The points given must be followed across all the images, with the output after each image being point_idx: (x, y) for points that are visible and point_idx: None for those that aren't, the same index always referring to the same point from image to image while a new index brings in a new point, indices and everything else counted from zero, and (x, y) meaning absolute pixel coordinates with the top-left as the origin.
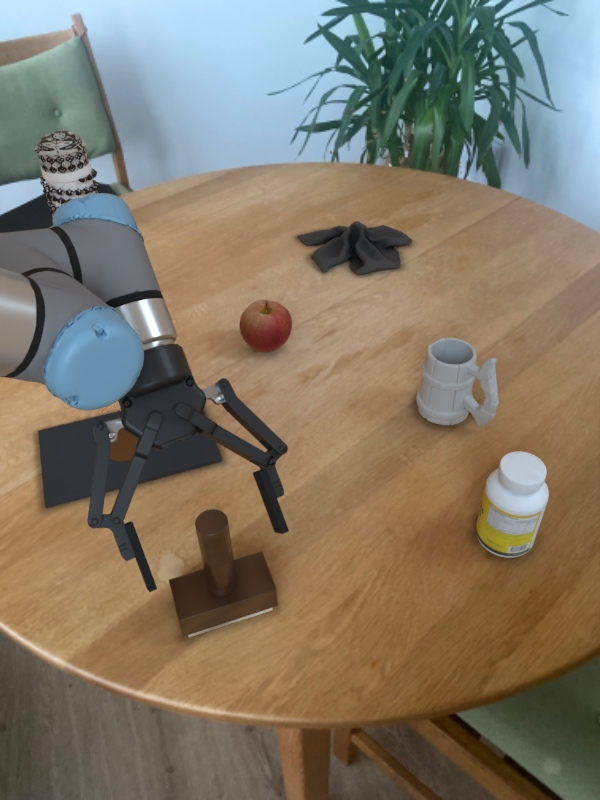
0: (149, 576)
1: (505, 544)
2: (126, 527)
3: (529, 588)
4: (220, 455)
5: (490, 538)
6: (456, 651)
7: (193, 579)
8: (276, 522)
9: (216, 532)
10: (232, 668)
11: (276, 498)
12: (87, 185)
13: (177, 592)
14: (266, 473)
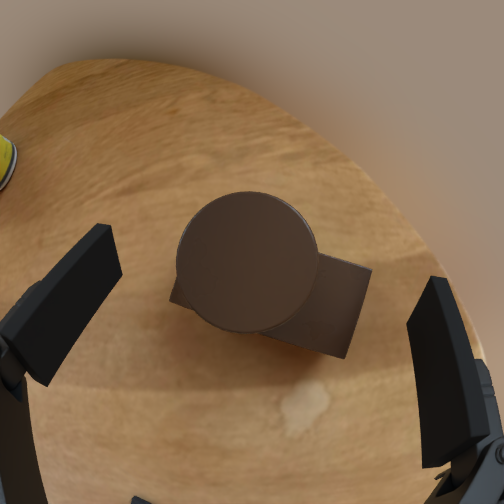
0: (445, 301)
1: (3, 140)
2: (487, 428)
3: (32, 117)
4: (131, 502)
5: (2, 153)
6: (110, 91)
7: (307, 331)
8: (98, 252)
9: (258, 199)
10: (319, 198)
11: (49, 274)
12: None
13: (346, 324)
14: (7, 325)
